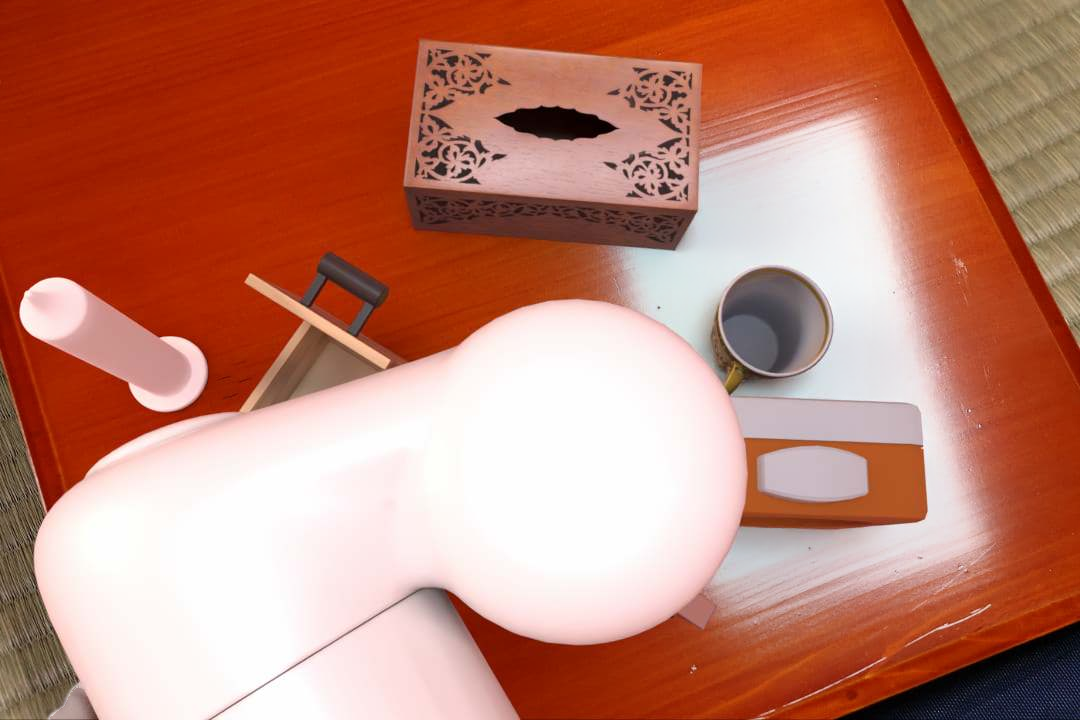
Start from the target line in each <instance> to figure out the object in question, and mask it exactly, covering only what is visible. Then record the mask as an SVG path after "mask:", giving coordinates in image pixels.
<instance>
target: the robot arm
mask: <svg viewBox="0 0 1080 720" xmlns="http://www.w3.org/2000/svg"><path fill="white" fill-rule="evenodd" d="M408 362H409V363H406V364H403V365H400V366H397V367H394V368H391V369H387V370H384V371H381V372H378V373H375V374H372V375H369V376H366V377H363V378H360V379H356V380H353V381H350V382H347V383H344V384H341V385H338V386H335V387H332V388H328V389H325V390H322V391H318V392H315V393H311V394H308V395H305V396H301V397H298V398H295V399H291V400H288V401H285V402H281V403H278V404H275V405H271V406H268V407H265V408H261V409H258V410H254V411H251V412H248V413H245V412H239V411H225V412H224V411H223V412H220V413H219V412H218V413H211V414H205V415H200V416H196V417H191V418H188V419H184V420H180V421H177V422H174V423H171V424H168V425H164V426H163V427H159V428H157V429H154V430H152V431H148V432H147V433H143V434H142V435H140V436H138V437H136V438H134V439H132V440H130V441H128V442H126V443H124V444H122V445H120V446H119V447H117V448H116V449H114V450H112V451H111V452H110V453H108V454H106V455H105V456H103V457H102V458H100V459H99V460H98V461H97V462H96V463H95V464H94V465H93V466H91V468H90V469H89V470H88V471H87V473H86V474H85V476H84V478H82V480H80V481H79V482H77V483H76V484H75V485H73V486H72V487H71V488H70V489H68V490H67V491H66V492H65V493H63V494H62V495H61V497H59V499H58V500H57V501H56V502H55V503H54V504H53V505H52V507H51V508H50V509H49V510H48V512H47V513H46V515H45V517H44V519H43V520H42V522H41V524H40V526H39V529H38V530H37V534H36V538H35V542H34V548H33V549H34V550H33V565H34V566H33V567H34V575H35V580H36V584H37V587H38V591H39V593H40V596H41V598H42V602H43V605H44V608H45V610H46V613H47V616H48V618H49V620H50V622H51V624H52V626H53V629H54V631H55V634H56V635H57V637H58V639H59V641H60V642H59V643H60V644H61V645H62V648H63V650H64V651H65V654H66V656H67V658H68V660H69V662H70V664H71V666H72V668H73V670H74V672H75V674H76V676H77V678H78V680H79V682H80V684H81V687H82V688H83V690H84V693H85V695H86V696H87V698H88V700H89V703H90V705H91V707H92V708H93V711H94V712H95V714H96V717H97V719H98V720H521V718H520V716H519V714H518V713H517V710H516V709H515V707H514V706H513V704H512V703H511V700H510V699H509V697H508V696H507V694H506V692H505V691H504V689H503V687H502V685H501V683H500V682H499V680H498V679H497V677H496V675H495V674H494V671H493V670H492V669H491V666H490V665H489V663H488V662H487V659H486V658H485V656H484V655H483V653H482V652H481V650H480V647H479V646H478V644H477V642H476V641H475V639H474V638H473V636H472V634H471V633H470V631H469V629H468V627H467V626H466V623H465V622H464V620H463V619H462V617H461V615H460V613H459V612H458V610H457V608H456V607H455V605H454V604H453V601H452V599H451V598H450V597H449V595H448V593H447V591H448V592H449V593H451V594H454V595H455V596H456V597H457V598H458V599H460V600H461V601H462V602H463V603H464V604H465V605H467V606H468V607H469V608H471V610H473V611H474V612H475V613H477V614H478V615H480V616H481V617H483V618H484V619H486V620H488V621H490V622H492V623H494V624H495V625H497V626H499V627H501V628H503V629H505V630H506V631H509V632H510V633H513V634H516V635H518V636H521V637H525V638H529V639H533V640H536V641H539V642H544V643H549V644H561V645H571V646H588V645H589V646H590V645H591V646H592V645H599V644H607V643H612V642H615V641H616V642H617V641H620V640H624V639H627V638H631V637H633V636H636V635H639V634H642V633H644V632H647V631H648V630H650V629H653V628H654V627H657V626H658V625H660V624H662V623H664V622H665V621H667V620H669V619H674V618H675V616H677V617H679V618H680V619H681V620H683V621H685V622H687V623H689V624H691V625H693V626H694V627H696V628H698V629H699V630H702V631H704V630H705V629H706V626H707V625H708V623H709V621H710V620H711V617H712V616H713V614H714V612H715V610H716V608H717V604H716V603H714V602H713V601H711V600H710V599H708V598H707V597H705V596H704V595H703V594H701V592H702V591H703V590H704V589H705V588H706V587H707V586H708V584H709V583H710V582H711V581H712V579H713V578H714V576H715V575H716V574H717V572H718V570H719V568H720V567H721V566H722V564H723V562H724V560H725V559H726V558H727V556H728V554H729V552H730V550H731V548H732V545H734V542H735V540H736V536H737V533H738V530H739V525H740V521H741V516H742V512H743V509H744V505H745V499H746V488H747V477H748V471H747V459H746V446H745V441H744V438H743V434H742V430H741V426H740V422H739V418H738V415H737V413H736V410H735V408H734V406H733V404H732V401H731V399H730V397H729V396H730V395H728V392H727V390H726V388H725V387H724V385H723V382H722V381H721V380H720V377H719V376H718V375H717V373H716V371H715V370H714V369H713V367H712V366H711V364H710V363H709V362H708V361H707V360H706V359H705V358H704V357H703V356H702V355H701V353H699V351H697V349H696V348H694V346H693V345H692V344H691V343H690V342H689V341H687V340H686V339H685V338H684V337H682V336H681V335H679V334H678V333H677V332H675V331H674V330H673V329H671V328H670V327H669V326H667V325H666V324H664V323H662V322H660V321H659V320H656V319H655V318H653V317H650V316H648V315H647V314H645V313H643V312H641V311H638V310H636V309H633V308H630V307H626V306H622V305H619V304H616V303H612V302H607V301H603V300H593V299H582V298H569V299H554V300H547V301H542V302H538V303H534V304H530V305H529V304H528V305H526V306H521V307H519V308H517V309H513V310H512V311H510V312H507V313H505V314H502V315H500V316H497V317H496V318H494V319H492V320H491V321H489V322H488V323H486V324H484V325H482V326H481V327H480V328H479V329H477V330H475V331H474V332H472V333H471V334H470V335H469V336H467V337H466V338H465V339H464V340H463V341H461V342H460V343H459V344H458V345H456V346H452V347H451V348H448V349H445V350H441V351H439V352H437V353H433V354H431V355H428V356H425V357H421V358H418V359H415V360H413V361H408ZM446 590H447V591H446Z"/></svg>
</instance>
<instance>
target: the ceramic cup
mask: <svg viewBox="0 0 1080 720" xmlns="http://www.w3.org/2000/svg"><path fill="white" fill-rule="evenodd" d="M713 321H714V322H713V325H712V329H711V333H710V337H709V343H710V347H711V352H712V356H713V361H714V365H715V367H716V368H717V369H719V370H720V371H722V373H724V374H725V375H726V377H725V379H724V381H723V382H722V384H723V385H724V387H725V388H726V390H727V392H728V395H729V396H732V394H733V393H734V392H735V391H736V390H737V389H738V388H739V387H740V386H741V384H742V383H743V382H746V381H753V380H779V379H786V378H787V379H788V378H791V377H796V376H799V375H802V374H803V373H806V372H808V371H809V370H811V369H812V368H814V367H815V366H816V365H817V364H818V363H819V362H820V361H821V360H822V359H823V358H824V357H825V355H826V353H827V352H828V350H829V347H830V345H831V343H832V339H833V336H834V315H833V311H832V307H831V305H830V303H829V300H828V298H827V296H826V295H825V293H824V291H823V290H822V289H821V288H820V287H819V285H818V284H817V283H816V282H815V281H814V280H812V279H811V278H810V277H809V276H807V275H806V274H805V273H803V272H801V271H799V270H797V269H794V268H791V267H790V266H786V265H785V266H784V265H778V264H765V265H764V264H763V265H758V266H755V267H752V268H749V269H747V270H744V271H743V272H741V273H740V274H739V275H737V276H736V277H735V278H734V279H733V280H731V282H730V283H729V284H728V285H727V287H726V288H725V290H724V292H723V293H722V295H721V298H720V300H719V303H718V305H717V307H716V311H715V316H714V318H713Z"/></svg>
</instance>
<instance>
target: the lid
mask: <svg viewBox="0 0 1080 720" xmlns="http://www.w3.org/2000/svg"><path fill="white" fill-rule="evenodd" d="M316 273H317V274H316V276H315V277H314V279H313V280H312V282H311V283H310V285H309V286H308V288H307V290H306V291H305V292H304V294H303V296H300V295H298V294H295V293H293V292H291V291H289V290H287V289H285V288H283V287H281V286H279V285H277V284H274V283H272V282H270V281H268V280H266V279H264V278H262V277H259V276H257V275H255V274H254V273H252V272H251V273H249V274H248V276H247V277H246V279H245V281H244V284H246V285H247V286H249V287H250V288H252V289H253V290H255V291H256V292H258V293H260V294H261V295H262V296H265V297H266V298H268V299H270V300H271V301H272V302H274V303H276V304H278V305H279V306H281V307H282V308H284V309H286V311H289V312H291V313H292V314H294V315H295V316H296V317H298V318H300V319H302V321H304V320H305V321H307V322H308V323H310V324H311V325H313V326H315V327H316V328H318V329H319V330H321V331H323V332H324V333H326V334H327V335H329V336H331V337H332V338H334V339H336V340H337V341H339V342H340V343H342V344H344V345H345V346H347V347H348V348H350V349H352V350H353V351H355V352H356V353H358V354H360V355H361V356H363V357H364V358H366V359H368V360H369V361H371V362H373V363H374V364H376V365H377V366H379V367H381V368H382V369H384V370H387V369H391V368H394V367H397V366H400V365H403V364H406V363H409V362H410V361H407V359H405V358H403V357H401V356H400V355H398V354H397V353H395V352H393V351H391V350H390V349H389V348H387V347H385V346H384V345H382V344H380V343H379V342H377V341H376V340H374V339H373V338H371V337H370V336H367V335H366V334H364V333H363V332H362V331H363V329H364V327H365V326H366V324H367V323H368V321H369V319H370V318H371V316H372V314H373V313H374V311H375V309H376V310H377V309H379V308H380V307H381V306H383V304H384V303H385V301H386V300H387V298H388V296H389V293H390V287H389V286H388V285H386V284H385V283H383V282H381V281H380V280H378V279H377V278H375V277H373V276H372V275H370V274H369V273H367V272H365V271H363V270H362V269H360V268H359V267H357V266H356V265H354V264H352V263H351V262H349V261H348V260H345V259H344V258H342V257H340V256H339V255H337V254H336V253H334V252H333V251H328V252H326V253H325V254H324V255H323V256H322V257H321V258H320V260H319V262H318V264H317V267H316ZM328 281H330V282H331V283H333V284H334V285H335V286H338V287H339V288H340V289H343V291H346V292H347V293H349V294H351V295H352V296H354V297H355V298H357V299H359V301H362V302H364V303H363V305H362V307H361V308H360V309H359V311H358V312H357V314H356V316H355V317H354V319H353V321H352V322H351V324H348V323H347V322H345V321H344V320H342V319H340V318H338V317H337V316H336V315H333V314H332V313H330V312H329V311H327V310H325V309H324V308H322V307H321V306H319V305H317V304H316V303H315V301H316V300H317V298H318V296H319V295H320V293H321V292H322V290H323V289H324V287H325V286H326V284H327V282H328Z"/></svg>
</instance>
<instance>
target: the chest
mask: <svg viewBox="0 0 1080 720" xmlns="http://www.w3.org/2000/svg"><path fill="white" fill-rule="evenodd" d="M381 371H384V369H382V368H381V367H379V366H377V365H376V364H374V363H373V362H371V361H369V360H368V359H366V358H364V357H363V356H361V355H360V354H358V353H356V352H355V351H353V350H352V349H350V348H348V347H347V346H345V345H344V344H342V343H340V342H339V341H337V340H336V339H334V338H332V337H331V336H329V335H327V334H326V333H324V332H323V331H321V330H319V329H318V328H316V327H315V326H313V325H311V324H310V323H308V322H307V321H305V320H302V322H301V324H300V325H299V327H298V328H297V329H296V330H295V332H294V334H292V336H291V338H290V339H289V340H288V342H287V344H285V346H284V347H283V349H282V350H281V351H280V353H279V355H278V356H277V357H276V359H275V360H274V361H273V363H272V364H271V365H270V367H269V368H268V370H267V371H266V373H265V374H264V376H263V377H262V378H261V380H260V381H259V383H258V384H257V385H256V387H255V388H254V390H253V391H252V392H251V394H250V395H249V396H248V398H247V399H246V400H245V402H244V403H243V405H242V406H241V407H240V409H239V411H238V412H245V413H248V412H251V411H254V410H258V409H261V408H265V407H268V406H271V405H275V404H278V403H281V402H285V401H288V400H291V399H295V398H298V397H301V396H305V395H308V394H311V393H315V392H318V391H322V390H325V389H328V388H332V387H335V386H338V385H341V384H344V383H347V382H350V381H353V380H356V379H360V378H363V377H366V376H369V375H372V374H375V373H378V372H381Z"/></svg>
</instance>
